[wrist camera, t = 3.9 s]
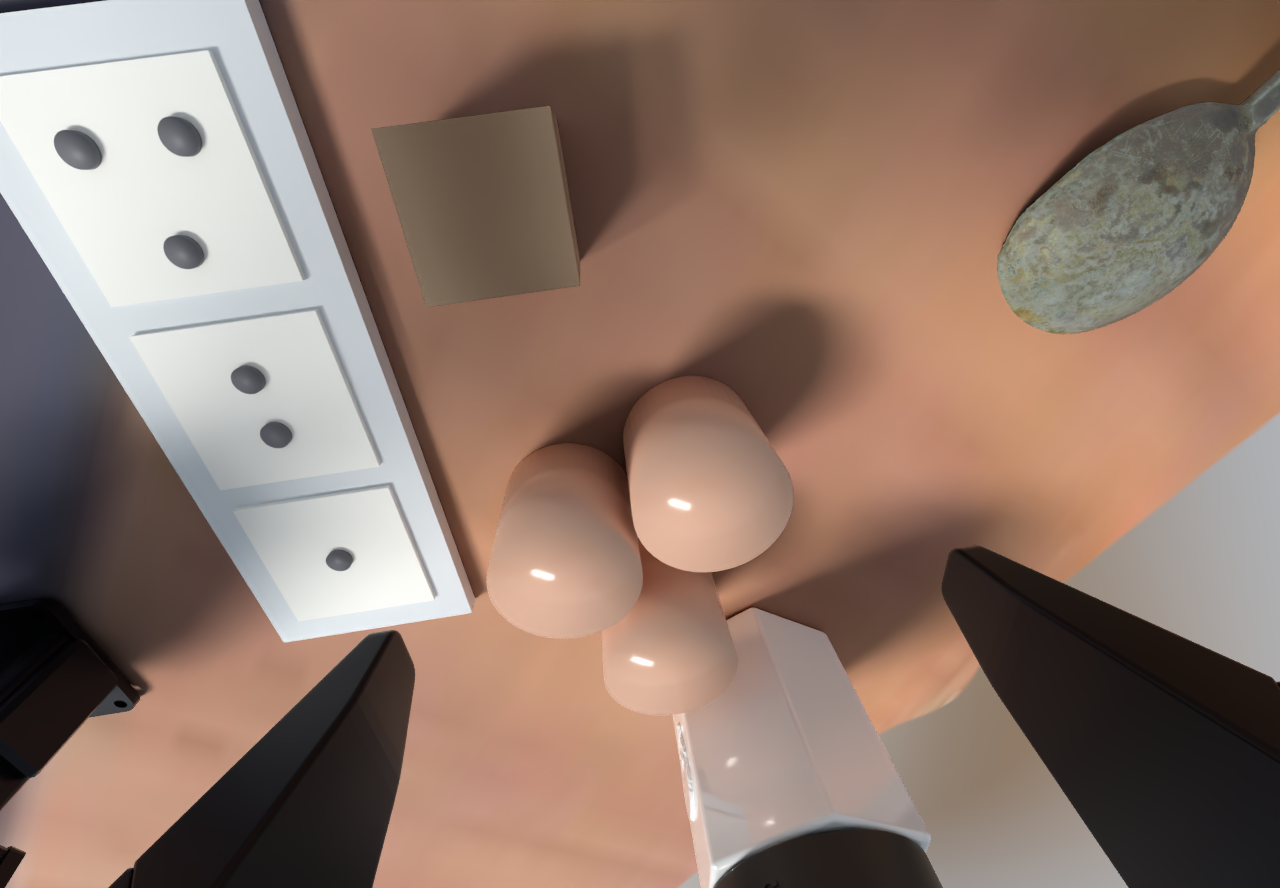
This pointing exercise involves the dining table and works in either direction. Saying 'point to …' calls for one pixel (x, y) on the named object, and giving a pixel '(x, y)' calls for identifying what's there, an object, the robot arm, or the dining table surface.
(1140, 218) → the soupspoon
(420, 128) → the brown cube
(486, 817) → the dining table surface
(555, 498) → the peach rounded capsule
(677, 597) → the peach rounded piece
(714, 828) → the jar
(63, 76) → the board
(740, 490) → the peach rounded blob
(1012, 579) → the robot arm
